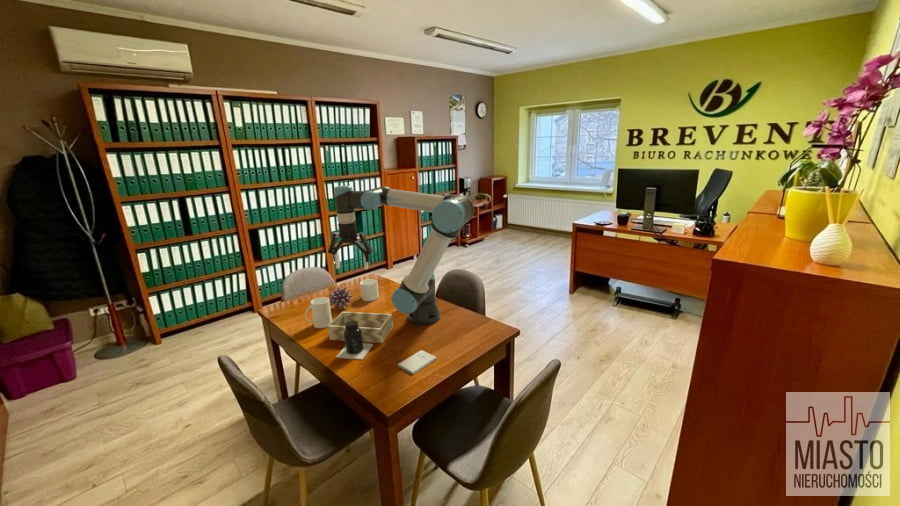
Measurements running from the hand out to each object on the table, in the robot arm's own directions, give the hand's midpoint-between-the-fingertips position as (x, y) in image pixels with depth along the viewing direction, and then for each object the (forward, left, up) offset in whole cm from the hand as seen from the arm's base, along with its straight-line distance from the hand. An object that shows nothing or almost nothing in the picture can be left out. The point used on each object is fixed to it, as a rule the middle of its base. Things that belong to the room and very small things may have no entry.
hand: (352, 268), depth 161 cm
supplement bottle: (-9, +24, -26) cm, 37 cm away
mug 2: (+6, -28, -27) cm, 39 cm away
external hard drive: (-36, +29, -27) cm, 54 cm away
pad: (-9, +24, -27) cm, 37 cm away
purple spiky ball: (+15, -13, -27) cm, 33 cm away
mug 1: (+17, +5, -27) cm, 32 cm away
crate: (-6, +10, -27) cm, 29 cm away
